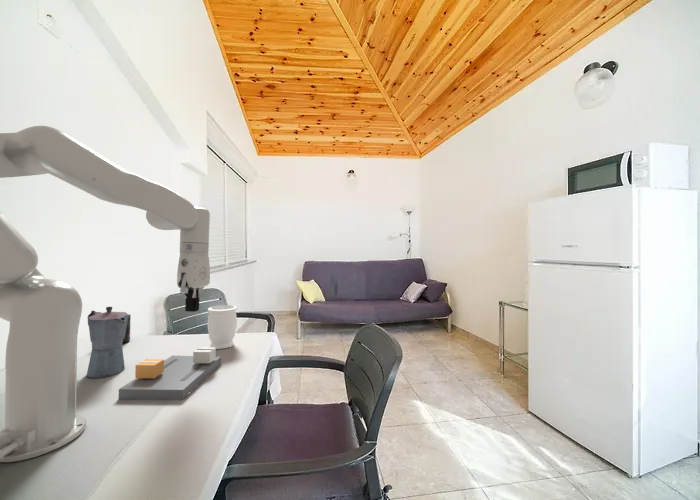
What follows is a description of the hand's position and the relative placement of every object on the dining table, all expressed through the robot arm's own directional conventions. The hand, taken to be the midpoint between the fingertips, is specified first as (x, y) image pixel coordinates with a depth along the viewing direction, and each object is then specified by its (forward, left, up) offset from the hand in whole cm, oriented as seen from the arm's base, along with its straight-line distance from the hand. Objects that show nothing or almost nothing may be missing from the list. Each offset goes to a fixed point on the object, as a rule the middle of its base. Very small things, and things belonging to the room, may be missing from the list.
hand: (192, 310), depth 83 cm
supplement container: (+28, +43, -20) cm, 55 cm away
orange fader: (-6, +8, -17) cm, 19 cm away
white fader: (+5, -2, -17) cm, 17 cm away
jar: (+26, +2, -20) cm, 33 cm away
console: (-2, +3, -20) cm, 20 cm away
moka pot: (+2, +27, -20) cm, 34 cm away
